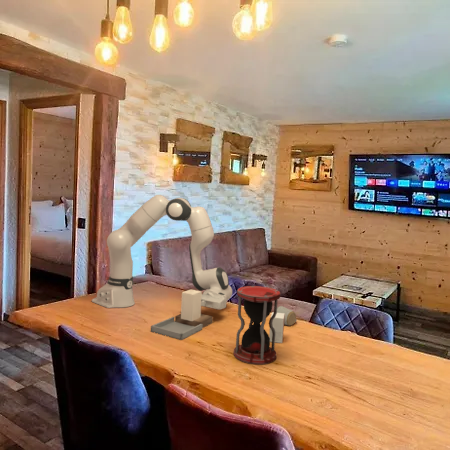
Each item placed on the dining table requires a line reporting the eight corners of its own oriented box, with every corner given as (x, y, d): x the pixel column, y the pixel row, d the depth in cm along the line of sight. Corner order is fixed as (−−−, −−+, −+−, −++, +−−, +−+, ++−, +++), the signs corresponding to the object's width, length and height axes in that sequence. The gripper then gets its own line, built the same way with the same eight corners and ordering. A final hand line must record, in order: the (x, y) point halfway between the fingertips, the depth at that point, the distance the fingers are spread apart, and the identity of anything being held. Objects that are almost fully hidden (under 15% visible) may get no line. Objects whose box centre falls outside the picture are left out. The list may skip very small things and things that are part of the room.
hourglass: (240, 366, 148) (245, 297, 146) (228, 348, 163) (232, 285, 161) (283, 363, 152) (287, 296, 150) (267, 346, 168) (271, 285, 165)
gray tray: (150, 331, 177) (150, 325, 177) (172, 322, 191) (172, 316, 190) (181, 340, 169) (181, 334, 169) (202, 329, 183) (202, 324, 183)
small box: (282, 343, 172) (283, 318, 171) (268, 341, 173) (270, 317, 172) (283, 336, 179) (285, 313, 178) (270, 335, 180) (272, 311, 179)
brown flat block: (175, 322, 190) (175, 316, 190) (187, 317, 199) (187, 310, 199) (200, 328, 184) (201, 322, 183) (212, 323, 192) (212, 316, 192)
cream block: (180, 318, 187) (181, 292, 186) (189, 314, 193) (190, 289, 192) (192, 321, 184) (193, 294, 183) (200, 317, 190) (201, 291, 189)
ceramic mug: (287, 327, 191) (288, 311, 191) (273, 322, 197) (274, 307, 197) (300, 323, 199) (302, 308, 198) (286, 319, 205) (288, 303, 204)
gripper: (193, 288, 208) (177, 293, 196) (229, 295, 198) (214, 301, 186) (192, 300, 209) (176, 306, 197) (228, 308, 199) (213, 315, 187)
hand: (195, 304), depth 191 cm, fingers closed
